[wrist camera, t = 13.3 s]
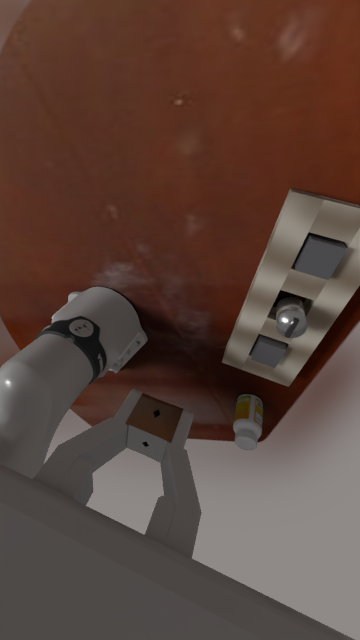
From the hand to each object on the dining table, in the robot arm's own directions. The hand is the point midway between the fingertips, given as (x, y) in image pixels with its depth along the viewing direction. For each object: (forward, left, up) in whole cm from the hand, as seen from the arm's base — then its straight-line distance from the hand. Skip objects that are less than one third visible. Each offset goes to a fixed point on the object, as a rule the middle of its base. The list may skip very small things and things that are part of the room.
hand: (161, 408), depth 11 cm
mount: (-4, -11, -31) cm, 33 cm away
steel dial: (-4, -12, -28) cm, 30 cm away
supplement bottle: (-28, -21, -31) cm, 47 cm away
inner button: (-12, -14, -31) cm, 36 cm away
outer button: (+4, -9, -31) cm, 32 cm away
